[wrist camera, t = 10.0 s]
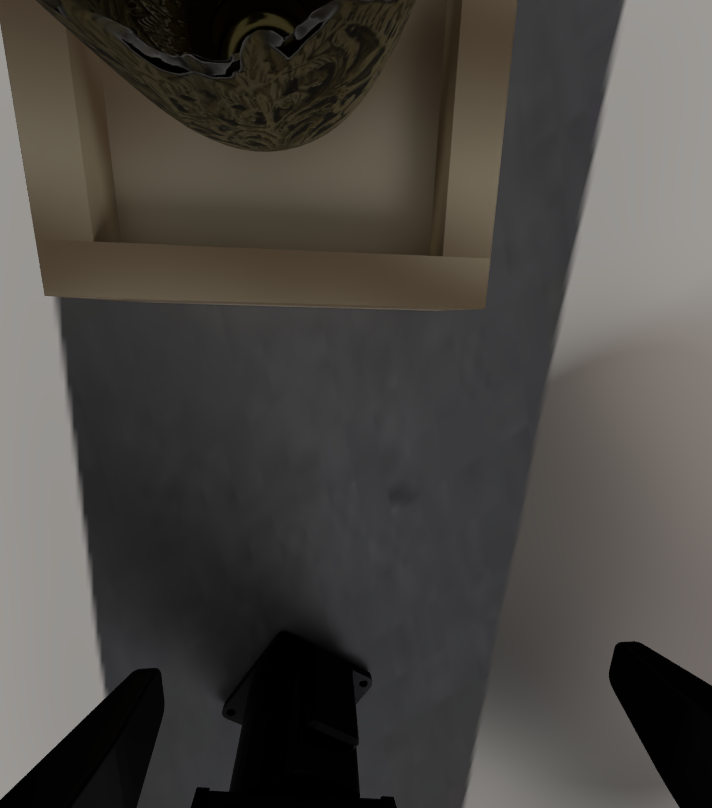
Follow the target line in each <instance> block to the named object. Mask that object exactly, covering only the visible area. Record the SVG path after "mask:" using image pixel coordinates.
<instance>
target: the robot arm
mask: <svg viewBox="0 0 712 808" xmlns="http://www.w3.org/2000/svg"><path fill="white" fill-rule="evenodd" d="M281 641H286V642H281ZM609 679H610V683H611V686H612V688H613V690H614V692H615V694H616V696H617V697H618V699H619V701H620V703H621V705H622V707H623V708H624V710H625V712H626V714H627V716H628V718H629V719H630V721H631V723H632V725H633V727H634V728H635V731H636V732H637V734H638V736H639V738H640V739H641V742H642V743H643V745H644V747H645V749H646V750H647V752H648V754H649V756H650V758H651V760H652V762H653V763H654V765H655V767H656V769H657V771H658V772H659V774H660V776H661V778H662V779H663V781H664V783H665V785H666V786H667V788H668V789H669V791H670V793H671V794H672V796H673V798H674V799H675V801H676V803H677V804H678V806H679V807H680V808H712V686H711V685H709V684H708V683H706V682H705V681H703V680H701V679H700V678H698V677H696V676H695V675H693V674H691V673H690V672H688V671H686V670H685V669H683V668H681V667H680V666H678V665H677V664H675V663H673V662H671V661H670V660H668V659H667V658H665V657H663V656H662V655H660V654H658V653H657V652H655V651H653V650H652V649H650V648H648V647H647V646H645V645H643V644H642V643H639V642H635V641H634V642H620V643H618V644H617V645H616V646H615V649H614V653H613V657H612V661H611V666H610V670H609ZM363 680H364V681H363ZM371 685H372V679H371V674H370V673H369V672H368V671H366V670H364V669H362V668H360V667H358V666H356V665H354V664H352V663H350V662H348V661H346V660H344V659H342V658H340V657H338V656H336V655H334V654H332V653H330V652H328V651H326V650H324V649H322V648H320V647H318V646H316V645H314V644H312V643H310V642H308V641H306V640H304V639H302V638H300V637H298V636H296V635H294V634H292V633H290V632H286V631H285V632H280V633H279V634H277V635H276V637H275V638H274V639H273V641H272V642H271V643H270V645H269V646H268V647H267V648H266V650H265V651H264V652H263V654H262V655H261V656H260V658H259V659H258V660H257V661H256V663H255V664H254V665H253V667H252V668H251V669H250V671H249V672H248V673H247V674H246V676H245V677H244V678H243V680H242V681H241V682H240V684H239V685H238V686H237V687H236V689H235V690H234V691H233V693H232V694H231V695H230V697H229V698H228V699H227V700H226V702H225V704H224V707H223V711H222V715H223V716H224V717H225V718H227V719H229V720H231V721H234V722H236V723H238V724H241V725H242V728H241V733H240V739H239V744H238V749H237V754H236V759H235V764H234V769H233V774H232V779H231V784H230V789H229V792H223V791H209V789H210V788H202V787H197V789H196V792H195V795H194V799H193V802H192V806H191V808H397V807H396V804H395V800H394V797H387V796H381V799H370V798H360V789H359V776H358V763H357V750H356V747H357V746H358V744H359V737H358V725H357V713H356V704H357V702H358V701H359V700H360V699H361V698H362V697H363V695H364V694H365V693H366V692H367V691H368V689H369V688H370V687H371ZM163 713H164V694H163V685H162V677H161V672H160V670H159V669H158V668H146V669H137V670H135V671H134V672H132V673H131V674H130V675H129V676H128V677H127V678H126V679H125V680H124V681H123V682H122V683H121V684H120V685H118V686H117V687H116V688H115V689H114V690H113V691H112V692H111V693H110V694H109V695H108V696H107V697H106V698H105V699H104V700H103V701H102V702H101V703H100V704H99V705H98V706H97V707H96V708H95V709H94V710H93V711H92V712H91V713H90V714H89V715H88V716H86V718H84V719H83V720H82V721H81V722H80V723H79V724H78V725H77V726H76V727H75V728H74V729H73V730H72V731H71V732H70V733H69V734H68V735H67V736H66V737H65V738H64V739H63V740H62V741H61V742H60V743H59V744H58V745H57V746H56V747H55V748H54V749H53V750H51V751H50V752H49V753H48V754H47V755H46V756H45V757H44V758H43V759H42V760H41V761H40V762H39V763H38V764H37V765H36V766H35V767H34V768H33V769H32V770H31V771H30V772H29V773H28V774H27V775H26V776H25V777H24V778H23V779H21V780H20V781H19V783H17V784H16V785H15V786H14V787H13V788H12V789H11V790H10V791H9V792H8V793H7V794H6V795H5V796H4V797H3V798H2V799H1V800H0V808H136V807H137V804H138V800H139V797H140V793H141V790H142V787H143V783H144V780H145V776H146V773H147V769H148V766H149V762H150V759H151V756H152V752H153V749H154V745H155V742H156V738H157V735H158V731H159V728H160V724H161V721H162V717H163Z"/></svg>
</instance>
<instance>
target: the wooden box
mask: <svg viewBox="0 0 712 808" xmlns="http://www.w3.org/2000/svg"><path fill="white" fill-rule="evenodd" d="M516 9H517V0H417V1H416V3H415V5H414V7H413V10H412V12H411V14H410V16H409V18H408V21H407V23H406V25H405V27H404V29H403V31H402V33H401V36H400V38H399V40H398V42H397V44H396V46H395V48H394V49H393V51H392V53H391V55H390V57H389V59H388V61H387V63H386V65H385V66H384V68H383V70H382V72H381V74H380V75H379V77H378V78H377V80H376V82H375V83H374V85H373V86H372V88H371V89H370V91H369V92H368V94H367V95H366V96H365V98H364V99H363V100H362V101H361V102H360V104H359V105H358V106H357V107H356V108H355V109H354V111H353V112H352V113H351V114H350V115H349V116H348V117H347V118H346V119H345V120H344V121H343V122H342V123H340V124H339V125H338V126H337V127H336V128H334V129H333V130H332V131H330V132H329V133H327V134H326V135H324V136H322V137H321V138H319V139H317V140H315V141H313V142H311V143H308V144H305V145H303V146H300V147H297V148H292V149H288V150H283V151H274V152H256V151H249V150H242V149H238V148H234V147H230V146H227V145H224V144H221V143H219V142H216V141H214V140H211V139H209V138H207V137H205V136H203V135H201V134H199V133H197V132H195V131H193V130H192V129H190V128H188V127H186V126H185V125H183V124H182V123H180V122H179V121H177V120H176V119H174V118H173V117H172V116H170V115H169V114H167V113H166V112H164V111H163V110H161V109H160V108H159V107H157V106H156V105H155V104H154V103H153V102H151V101H150V100H149V99H148V98H146V97H145V96H144V95H143V94H141V93H140V92H139V91H138V90H137V89H135V88H134V87H133V86H132V85H131V84H129V83H128V82H127V81H126V80H125V79H124V78H122V77H121V76H120V75H119V74H118V73H117V72H116V71H114V70H113V69H112V68H111V67H110V66H109V65H107V64H106V63H105V62H104V61H103V60H102V59H101V58H100V57H98V56H97V55H96V54H95V53H94V52H93V51H92V50H90V49H89V48H88V47H87V46H86V45H85V44H84V43H83V42H81V41H80V40H79V39H78V38H77V37H76V36H75V35H74V34H72V33H71V32H70V31H69V30H68V29H67V28H66V27H65V26H64V25H62V24H61V23H60V22H59V21H58V20H57V19H56V18H55V17H54V16H52V15H51V14H50V13H49V12H48V11H47V10H46V9H45V8H44V7H42V6H41V5H40V4H39V3H38V2H37V1H36V0H0V24H1V30H2V36H3V42H4V48H5V55H6V60H7V67H8V72H9V79H10V85H11V91H12V97H13V104H14V110H15V116H16V122H17V128H18V134H19V141H20V147H21V153H22V159H23V165H24V171H25V177H26V183H27V190H28V196H29V202H30V208H31V214H32V220H33V226H34V233H35V239H36V245H37V251H38V257H39V263H40V269H41V276H42V282H43V288H44V294H45V296H57V297H72V298H87V299H102V300H117V301H132V302H150V303H184V304H218V305H253V306H287V307H321V308H355V309H389V310H424V311H438V310H468V309H485V305H486V295H487V286H488V276H489V267H490V257H491V248H492V238H493V229H494V219H495V209H496V200H497V190H498V181H499V171H500V162H501V152H502V143H503V133H504V124H505V114H506V105H507V95H508V85H509V76H510V66H511V57H512V47H513V38H514V28H515V19H516Z"/></svg>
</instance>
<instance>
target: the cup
mask: <svg viewBox="0 0 712 808" xmlns="http://www.w3.org/2000/svg"><path fill="white" fill-rule="evenodd" d="M36 1H37V2H38V3H39V4H40V5H41V6H42V7H44V8H45V9H46V10H47V11H48V12H49V13H50V14H51V15H52V16H54V17H55V18H56V19H57V20H58V21H59V22H60V23H61V24H62V25H64V26H65V27H66V28H67V29H68V30H69V31H70V32H71V33H72V34H74V35H75V36H76V37H77V38H78V39H79V40H80V41H81V42H83V43H84V44H85V45H86V46H87V47H88V48H89V49H90V50H92V51H93V52H94V53H95V54H96V55H97V56H98V57H100V58H101V59H102V60H103V61H104V62H105V63H106V64H107V65H109V66H110V67H111V68H112V69H113V70H114V71H116V72H117V73H118V74H119V75H120V76H121V77H122V78H124V79H125V80H126V81H127V82H128V83H129V84H131V85H132V86H133V87H134V88H135V89H137V90H138V91H139V92H140V93H141V94H143V95H144V96H145V97H146V98H148V99H149V100H150V101H151V102H153V103H154V104H155V105H156V106H157V107H159V108H160V109H161V110H163V111H164V112H166V113H167V114H169V115H170V116H172V117H173V118H174V119H176V120H177V121H179V122H180V123H182V124H183V125H185V126H186V127H188V128H190V129H192V130H193V131H195V132H197V133H199V134H201V135H203V136H205V137H207V138H209V139H211V140H214V141H216V142H219V143H221V144H224V145H227V146H230V147H234V148H238V149H242V150H249V151H256V152H274V151H283V150H288V149H292V148H297V147H300V146H303V145H305V144H308V143H311V142H313V141H315V140H317V139H319V138H321V137H322V136H324V135H326V134H327V133H329V132H330V131H332V130H333V129H334V128H336V127H337V126H338V125H339V124H340V123H342V122H343V121H344V120H345V119H346V118H347V117H348V116H349V115H350V114H351V113H352V112H353V111H354V109H355V108H356V107H357V106H358V105H359V104H360V102H361V101H362V100H363V99H364V98H365V96H366V95H367V94H368V92H369V91H370V89H371V88H372V86H373V85H374V83H375V82H376V80H377V78H378V77H379V75H380V74H381V72H382V70H383V68H384V66H385V65H386V63H387V61H388V59H389V57H390V55H391V53H392V51H393V49H394V48H395V46H396V44H397V42H398V40H399V38H400V36H401V33H402V31H403V29H404V27H405V25H406V23H407V21H408V18H409V16H410V14H411V12H412V10H413V7H414V5H415V3H416V1H417V0H36Z"/></svg>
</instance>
